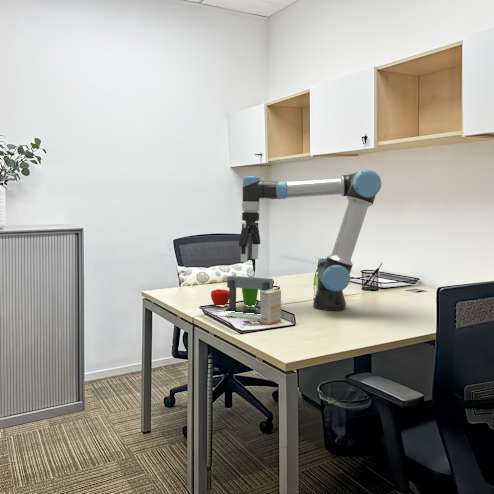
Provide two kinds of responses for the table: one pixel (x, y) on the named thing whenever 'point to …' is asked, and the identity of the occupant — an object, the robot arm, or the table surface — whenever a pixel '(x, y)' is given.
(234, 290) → the standards
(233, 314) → the pad
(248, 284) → the rail
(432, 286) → the table surface
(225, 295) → the apple
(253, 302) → the cup
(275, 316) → the supplement box
